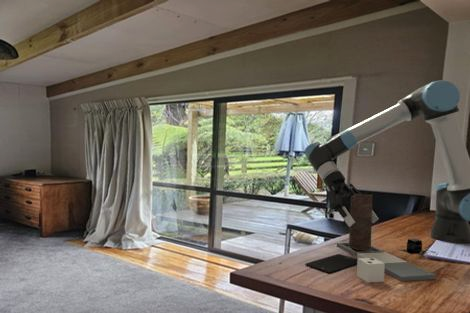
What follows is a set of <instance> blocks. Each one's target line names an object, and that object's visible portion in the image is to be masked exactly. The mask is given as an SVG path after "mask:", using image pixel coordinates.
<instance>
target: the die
mask: <svg viewBox="0 0 470 313" xmlns="http://www.w3.org/2000/svg"><path fill="white" fill-rule="evenodd" d="M356 259H357V265H356V276H357V277H358V278H359V279H361V280H362V281H364V282H366V283H380V282H382V283H383V282H384V281H385V272H384V268H385V263H383V262H381V261H379V260H377V259H375V258H358V257H357V258H356Z"/></svg>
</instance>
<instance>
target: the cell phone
mask: <svg viewBox="0 0 470 313" xmlns="http://www.w3.org/2000/svg"><path fill="white" fill-rule="evenodd" d="M357 259H358V258H354V257H352V256H351V257H350V256H347V255H345V254H341V253H338V254H337V253H335V254H333V255H329V256H326V257H323V258H319V259H316V260H313V261H309V262H305V264H304V265H306V266H305V267H308V266H309V267H308V268H310V267H311V269H313V268H314V269H313V270H316V269H317V270H316V271H319V272H322V273H324V274H327V275H330V274H334V273H337V272H340V271H343V270H345V269H348V268H351V267H355V266H357Z"/></svg>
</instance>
